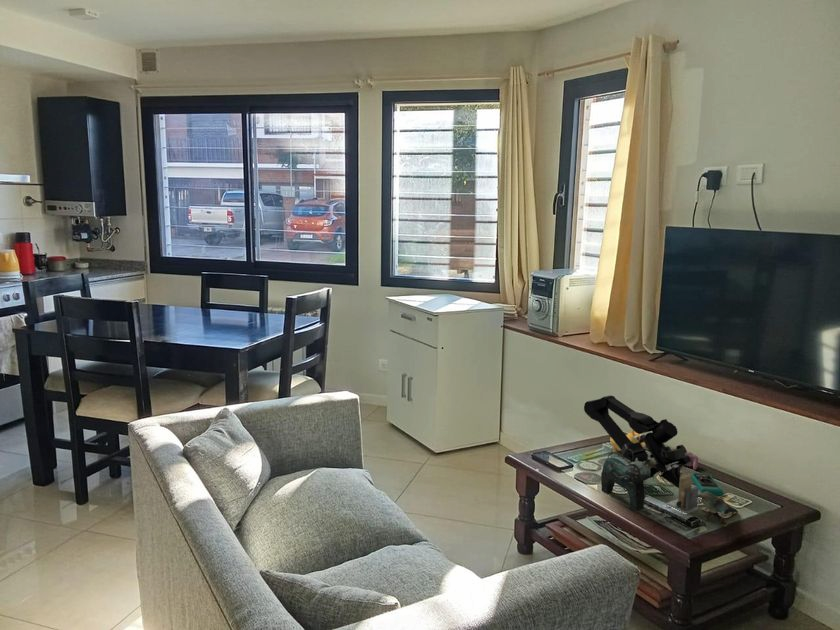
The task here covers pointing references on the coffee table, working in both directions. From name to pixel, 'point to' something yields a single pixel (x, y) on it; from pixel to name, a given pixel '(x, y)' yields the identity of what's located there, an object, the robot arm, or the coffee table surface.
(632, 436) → the dog
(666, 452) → the robot arm
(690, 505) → the gauge base
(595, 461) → the coffee table surface
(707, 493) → the bird figurine
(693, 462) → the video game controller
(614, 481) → the green animal figurine
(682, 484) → the light brown wooden block
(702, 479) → the digital multimeter
